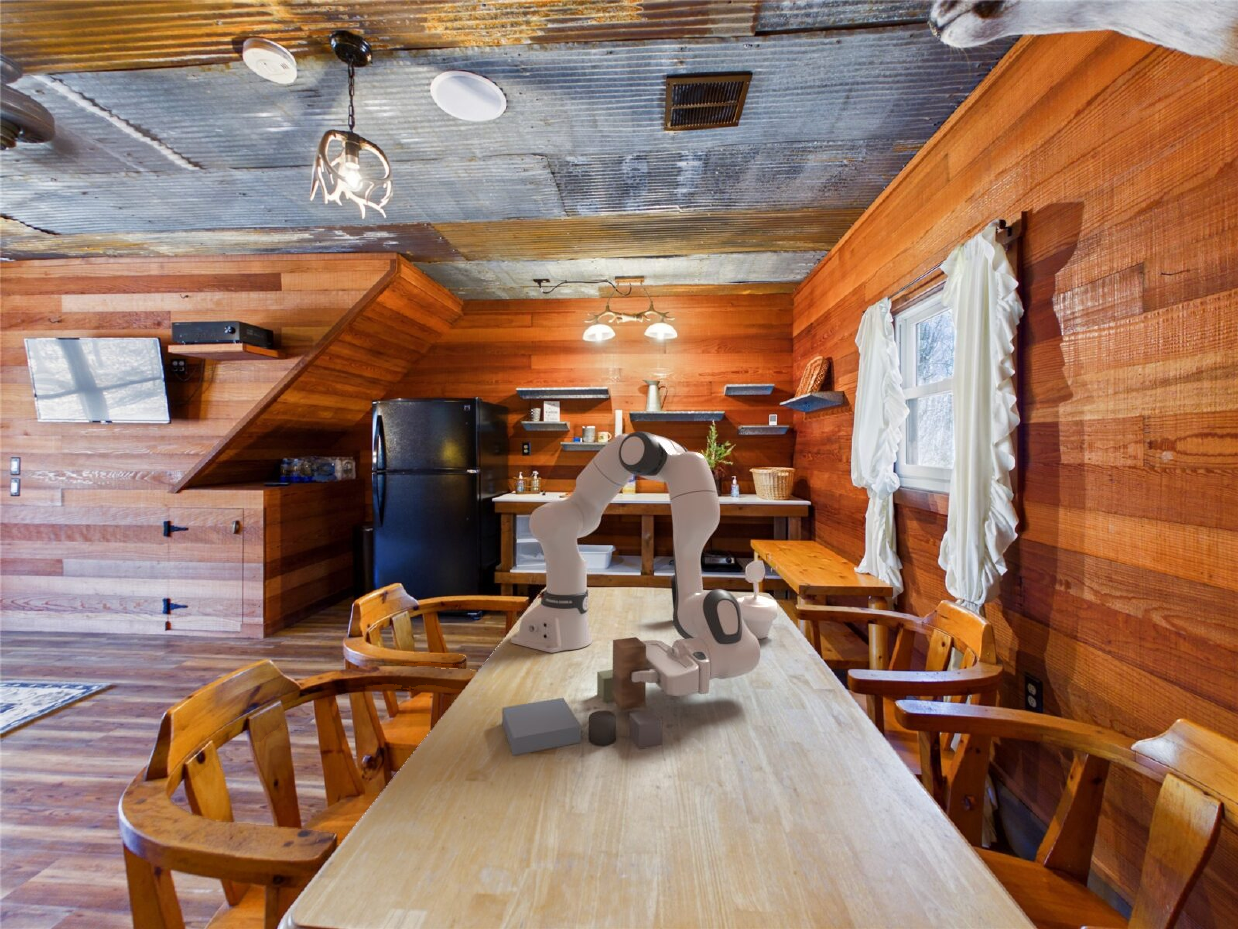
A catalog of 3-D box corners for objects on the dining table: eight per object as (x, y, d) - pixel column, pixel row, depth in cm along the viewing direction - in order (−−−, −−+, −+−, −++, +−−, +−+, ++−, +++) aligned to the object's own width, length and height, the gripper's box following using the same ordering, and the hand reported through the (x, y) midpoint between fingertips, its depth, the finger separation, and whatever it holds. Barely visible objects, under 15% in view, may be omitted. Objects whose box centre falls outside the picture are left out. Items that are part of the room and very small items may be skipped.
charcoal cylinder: (583, 743, 97) (583, 721, 96) (595, 730, 101) (595, 708, 101) (609, 748, 95) (610, 726, 95) (620, 735, 99) (620, 713, 99)
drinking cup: (665, 622, 167) (666, 558, 166) (675, 616, 173) (675, 554, 173) (689, 626, 163) (689, 560, 163) (697, 619, 170) (698, 556, 170)
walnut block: (621, 710, 103) (622, 648, 103) (612, 699, 108) (612, 639, 108) (645, 706, 105) (646, 645, 105) (635, 696, 110) (636, 637, 110)
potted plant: (778, 644, 148) (779, 552, 148) (735, 641, 150) (735, 551, 150) (775, 629, 160) (775, 545, 160) (734, 627, 163) (735, 544, 162)
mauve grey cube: (639, 750, 94) (639, 725, 94) (629, 737, 98) (629, 713, 98) (661, 745, 96) (661, 720, 96) (651, 733, 100) (651, 709, 100)
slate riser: (513, 755, 92) (513, 738, 92) (502, 723, 103) (502, 707, 103) (580, 742, 97) (580, 725, 97) (563, 712, 108) (563, 697, 108)
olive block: (603, 703, 112) (603, 679, 112) (597, 695, 116) (597, 671, 116) (621, 699, 114) (621, 676, 114) (614, 692, 118) (614, 669, 117)
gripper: (665, 630, 121) (607, 637, 116) (713, 664, 102) (645, 674, 97) (665, 658, 121) (606, 666, 116) (712, 697, 102) (645, 709, 97)
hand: (624, 670), depth 106 cm, fingers closed on walnut block, 5 cm apart
